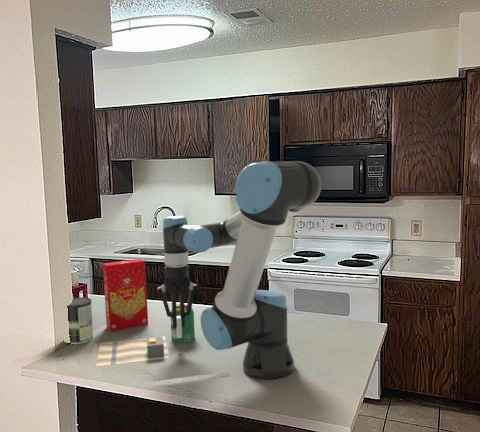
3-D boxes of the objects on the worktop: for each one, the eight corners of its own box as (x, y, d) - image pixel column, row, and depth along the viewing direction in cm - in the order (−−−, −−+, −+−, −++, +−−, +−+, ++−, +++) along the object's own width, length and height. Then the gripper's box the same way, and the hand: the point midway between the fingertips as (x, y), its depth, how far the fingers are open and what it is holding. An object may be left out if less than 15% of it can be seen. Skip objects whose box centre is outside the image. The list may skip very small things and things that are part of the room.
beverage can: (166, 342, 166) (165, 309, 165) (183, 336, 172) (182, 303, 171) (182, 347, 161) (181, 312, 160) (199, 340, 167) (198, 307, 166)
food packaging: (110, 331, 180) (106, 265, 178) (106, 327, 185) (102, 263, 182) (148, 324, 187) (144, 260, 185) (143, 320, 192) (140, 258, 189)
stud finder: (164, 356, 151) (163, 342, 151) (148, 358, 150) (147, 344, 149) (162, 348, 158) (162, 335, 157) (147, 350, 157) (146, 336, 156)
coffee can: (64, 346, 166) (61, 306, 164) (62, 337, 175) (60, 299, 174) (95, 341, 170) (92, 302, 169) (92, 332, 179) (89, 295, 178)
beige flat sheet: (169, 361, 150) (169, 357, 150) (96, 370, 145) (96, 366, 145) (165, 339, 169) (164, 336, 169) (100, 346, 165) (100, 343, 165)
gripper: (195, 261, 158) (197, 330, 161) (155, 263, 155) (158, 334, 158) (198, 265, 151) (200, 338, 153) (156, 268, 148) (159, 342, 150)
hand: (179, 336), depth 155 cm, fingers closed
